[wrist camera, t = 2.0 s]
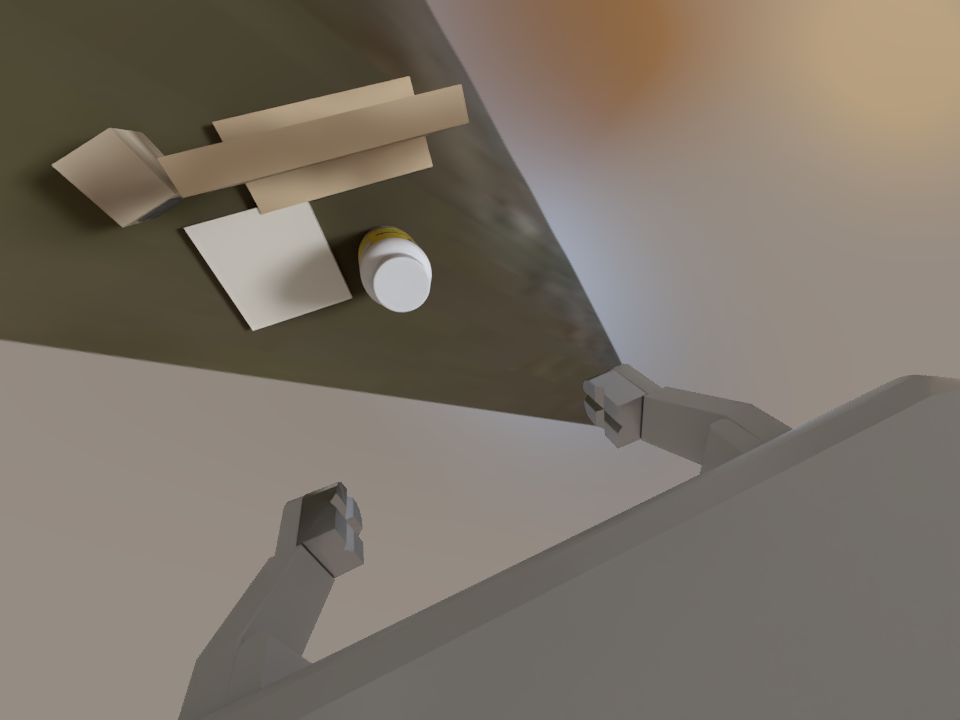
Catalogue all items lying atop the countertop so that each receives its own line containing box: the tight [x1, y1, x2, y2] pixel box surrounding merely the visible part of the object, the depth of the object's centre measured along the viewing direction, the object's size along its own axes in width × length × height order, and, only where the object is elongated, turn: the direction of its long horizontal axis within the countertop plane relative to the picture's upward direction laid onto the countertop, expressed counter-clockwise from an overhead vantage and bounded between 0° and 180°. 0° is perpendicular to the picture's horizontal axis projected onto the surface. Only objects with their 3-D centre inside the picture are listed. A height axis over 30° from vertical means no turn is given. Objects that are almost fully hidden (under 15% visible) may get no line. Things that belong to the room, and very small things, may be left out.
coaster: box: [184, 201, 352, 331], centre depth 29 cm, size 9×9×1 cm
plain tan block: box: [52, 128, 187, 227], centre depth 23 cm, size 4×4×4 cm
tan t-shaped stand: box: [157, 76, 469, 214], centre depth 22 cm, size 6×14×13 cm, turn 103°
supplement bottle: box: [358, 226, 432, 312], centre depth 28 cm, size 5×5×10 cm
